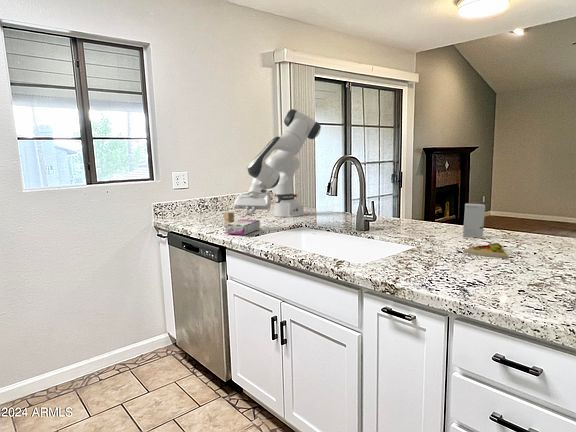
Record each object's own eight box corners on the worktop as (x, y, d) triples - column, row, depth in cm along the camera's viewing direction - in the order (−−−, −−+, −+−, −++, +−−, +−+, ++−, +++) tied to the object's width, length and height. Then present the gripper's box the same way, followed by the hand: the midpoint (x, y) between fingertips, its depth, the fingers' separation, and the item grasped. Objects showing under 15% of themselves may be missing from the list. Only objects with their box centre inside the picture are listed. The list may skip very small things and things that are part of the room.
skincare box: (462, 237, 174) (464, 204, 171) (462, 234, 179) (464, 203, 177) (483, 238, 170) (485, 205, 168) (483, 235, 176) (484, 203, 173)
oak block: (230, 226, 218) (229, 212, 217) (234, 226, 215) (233, 212, 214) (224, 227, 215) (223, 212, 214) (228, 227, 213) (228, 213, 211)
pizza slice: (461, 255, 147) (461, 247, 146) (478, 244, 162) (478, 237, 161) (506, 261, 136) (507, 253, 136) (520, 250, 152) (520, 242, 151)
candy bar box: (242, 228, 208) (225, 233, 194) (242, 219, 208) (224, 223, 193) (260, 229, 204) (244, 235, 189) (260, 220, 203) (243, 225, 188)
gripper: (236, 190, 211) (228, 210, 204) (271, 190, 204) (264, 211, 197) (240, 197, 216) (233, 217, 209) (274, 198, 209) (268, 218, 201)
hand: (248, 214), depth 203 cm, fingers closed
